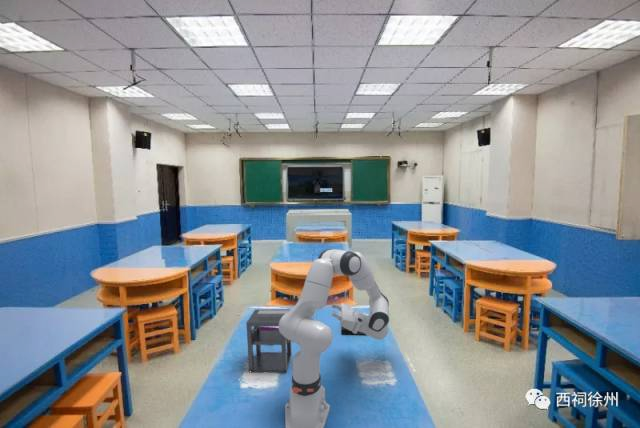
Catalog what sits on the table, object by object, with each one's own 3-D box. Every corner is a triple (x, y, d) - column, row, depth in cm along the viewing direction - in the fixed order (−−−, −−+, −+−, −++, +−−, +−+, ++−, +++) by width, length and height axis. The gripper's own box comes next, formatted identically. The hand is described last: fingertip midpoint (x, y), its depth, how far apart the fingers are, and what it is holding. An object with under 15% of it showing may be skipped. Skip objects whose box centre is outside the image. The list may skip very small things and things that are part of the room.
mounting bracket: (269, 341, 199) (257, 341, 182) (271, 327, 201) (259, 326, 185) (283, 342, 196) (272, 343, 180) (285, 328, 199) (274, 328, 183)
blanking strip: (304, 317, 157) (304, 313, 157) (257, 317, 159) (257, 313, 159) (305, 314, 161) (304, 310, 161) (259, 314, 163) (259, 310, 163)
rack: (287, 372, 154) (285, 322, 152) (249, 372, 156) (246, 322, 153) (292, 355, 170) (290, 309, 168) (257, 354, 172) (255, 309, 169)
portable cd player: (367, 323, 206) (367, 317, 206) (368, 336, 189) (368, 330, 189) (342, 323, 208) (342, 317, 208) (341, 335, 191) (341, 329, 191)
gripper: (357, 306, 168) (334, 295, 168) (361, 324, 148) (335, 312, 148) (352, 316, 169) (329, 305, 169) (355, 335, 149) (329, 323, 149)
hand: (332, 309), depth 158 cm, fingers open, 8 cm apart
